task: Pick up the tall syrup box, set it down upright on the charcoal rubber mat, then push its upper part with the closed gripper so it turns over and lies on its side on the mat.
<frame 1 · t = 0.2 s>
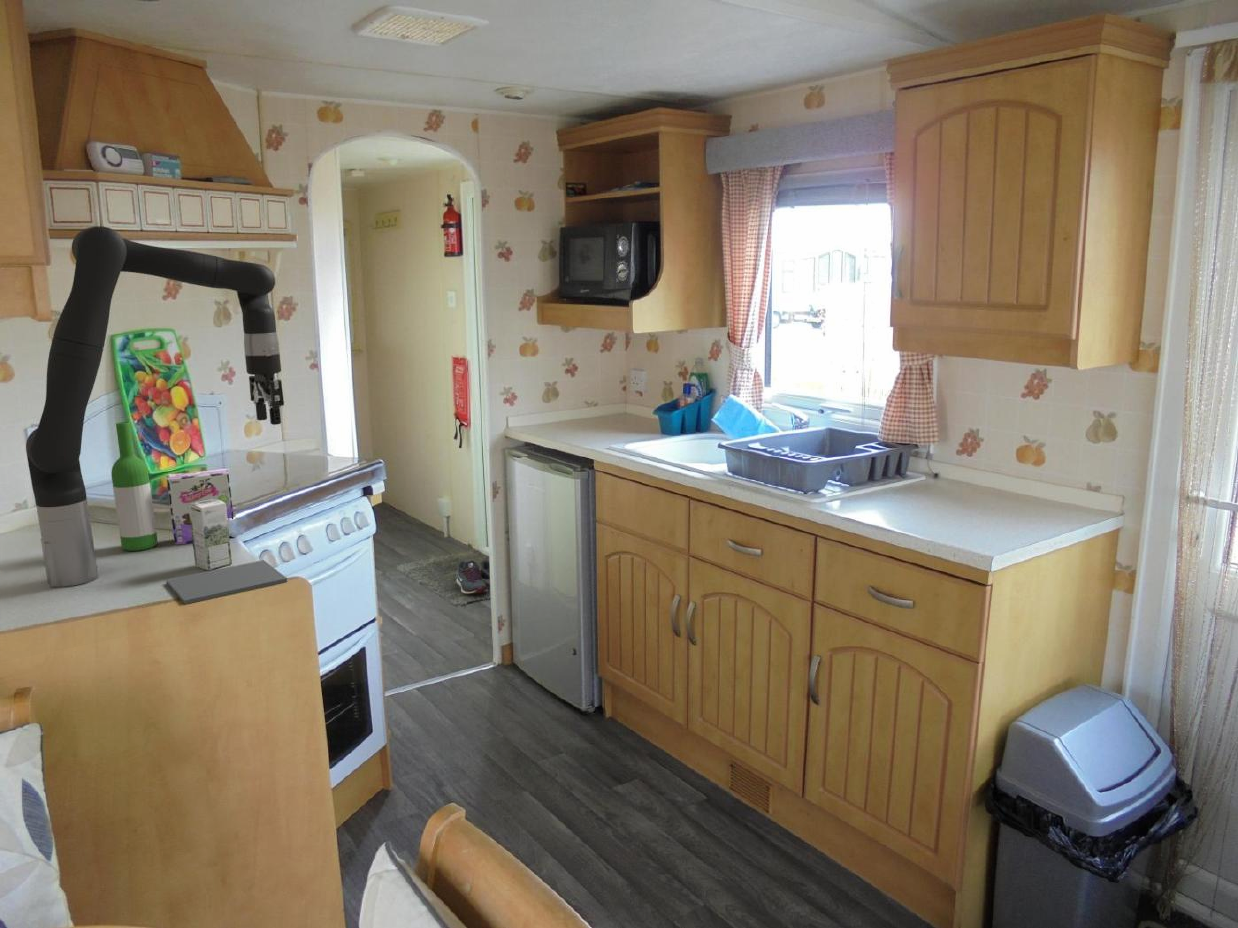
hand: (269, 422, 220), 29 cm above the worktop, fingers open, 8 cm apart
wine bottle: (140, 547, 223), on the worktop
syrup box: (214, 566, 208), on the worktop
candy box: (205, 539, 229), on the worktop
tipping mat: (226, 582, 196), on the worktop
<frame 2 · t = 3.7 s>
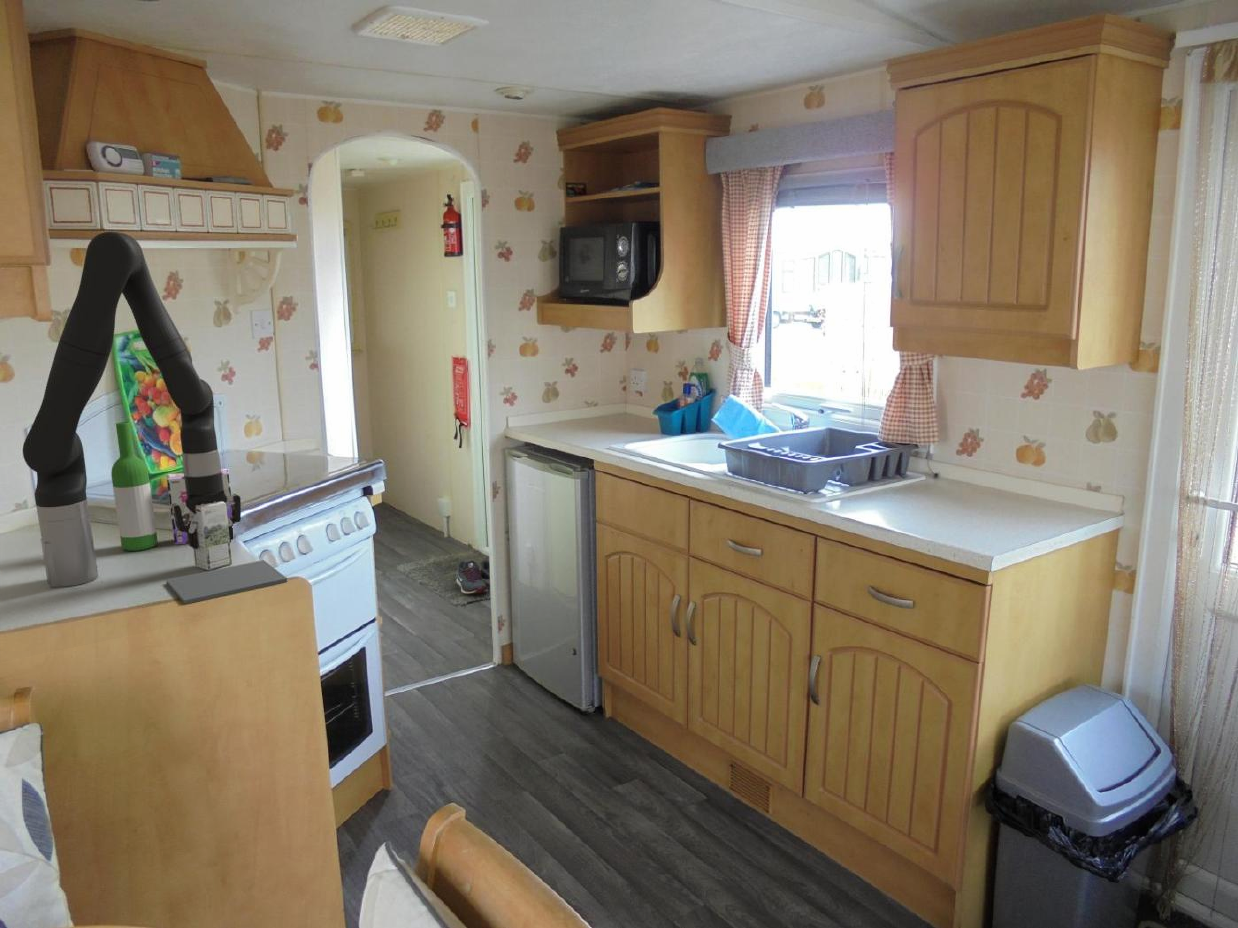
hand: (211, 544, 207), 5 cm above the worktop, fingers closed on syrup box, 6 cm apart
syrup box: (214, 566, 208), on the worktop, touching gripper
everything else where it was.
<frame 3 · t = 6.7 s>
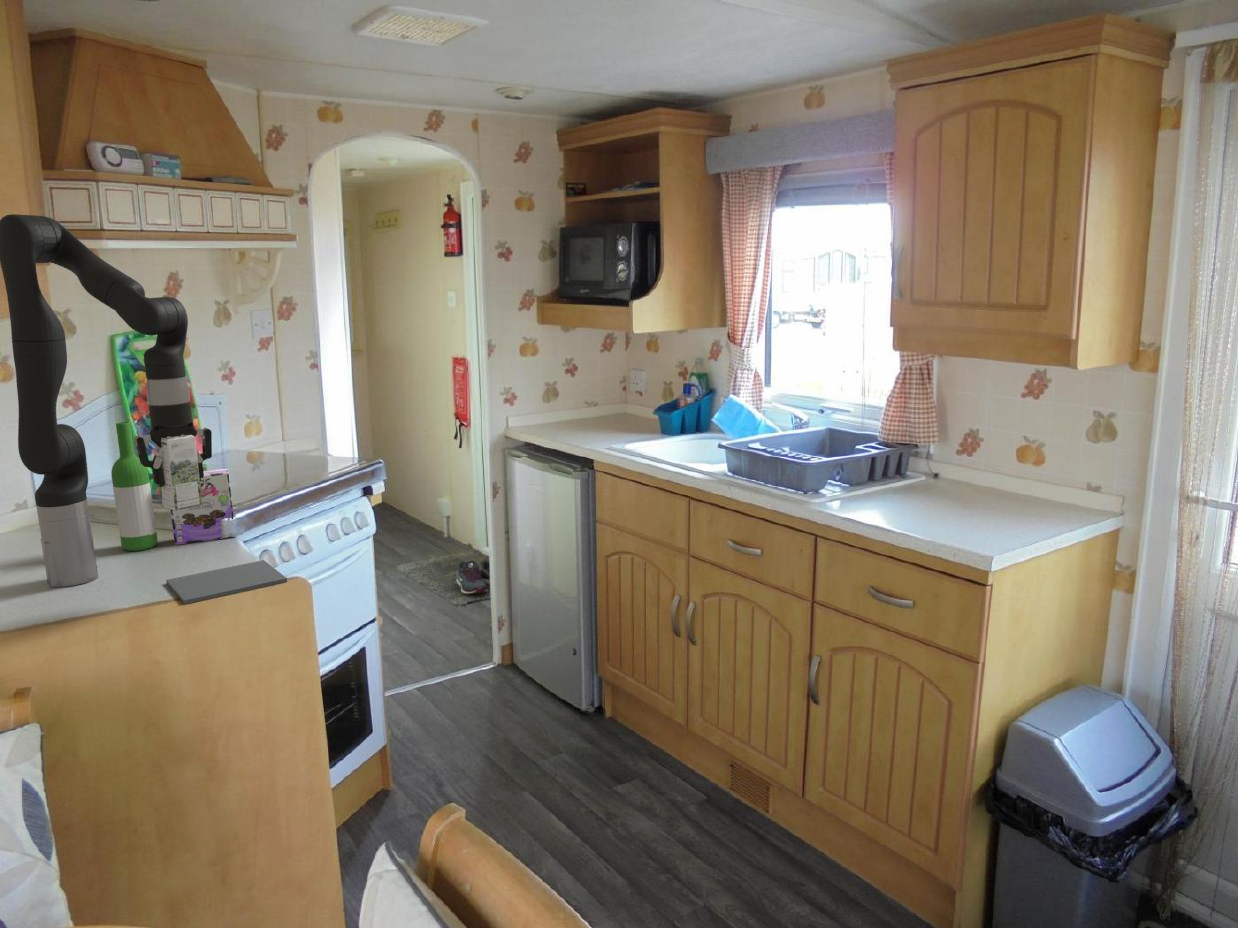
hand: (179, 483, 188), 22 cm above the worktop, fingers closed on syrup box, 6 cm apart
syrup box: (182, 507, 189), point 17 cm above the worktop, touching gripper
everything else where it was.
when the fingers open (7 cm above the worktop, at t = 10.1 s): syrup box stays where it is, resting on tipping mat.
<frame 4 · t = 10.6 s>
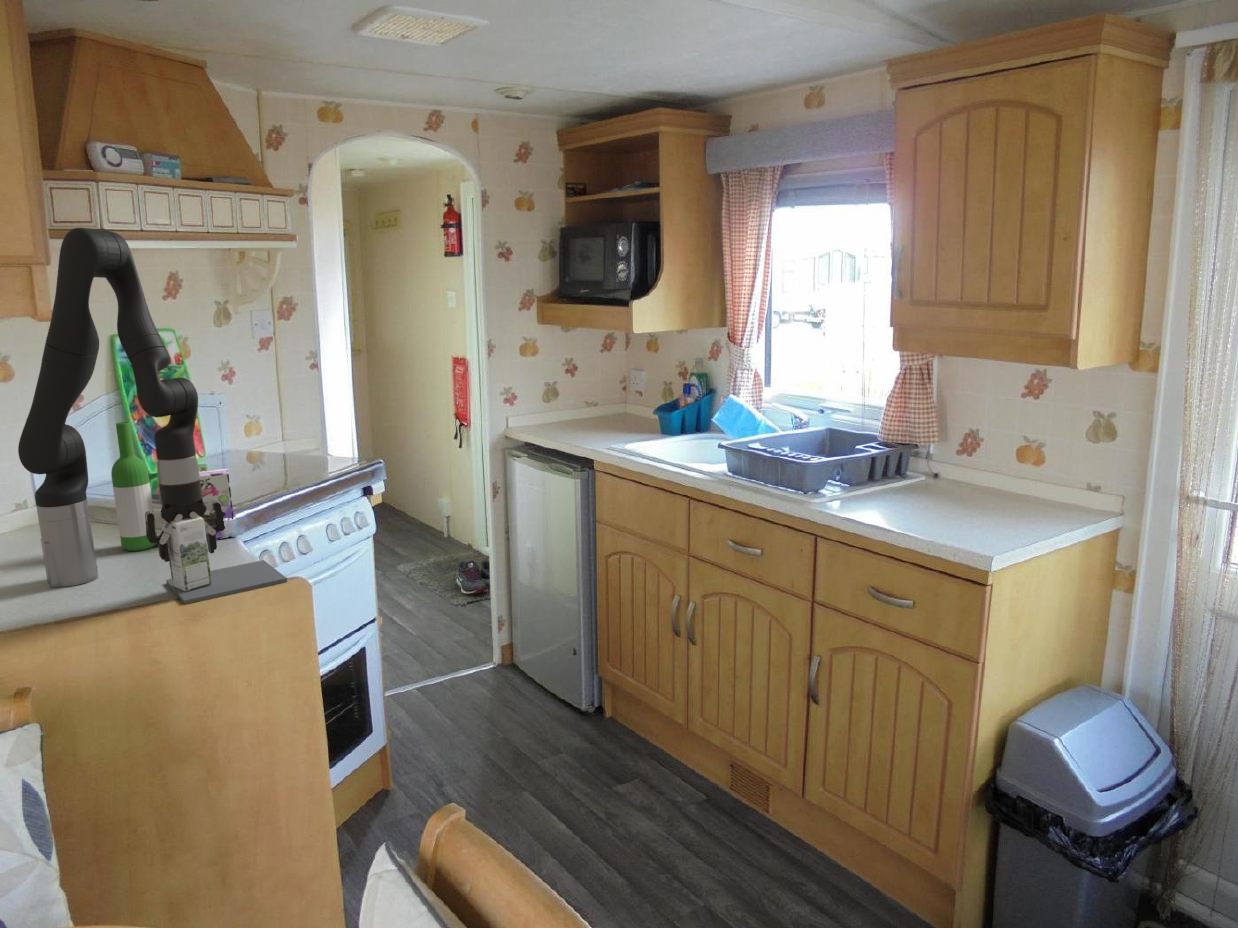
hand: (189, 556, 191), 7 cm above the worktop, fingers open, 8 cm apart
syrup box: (193, 586, 192), point 1 cm above the worktop, touching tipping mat
everything else where it was.
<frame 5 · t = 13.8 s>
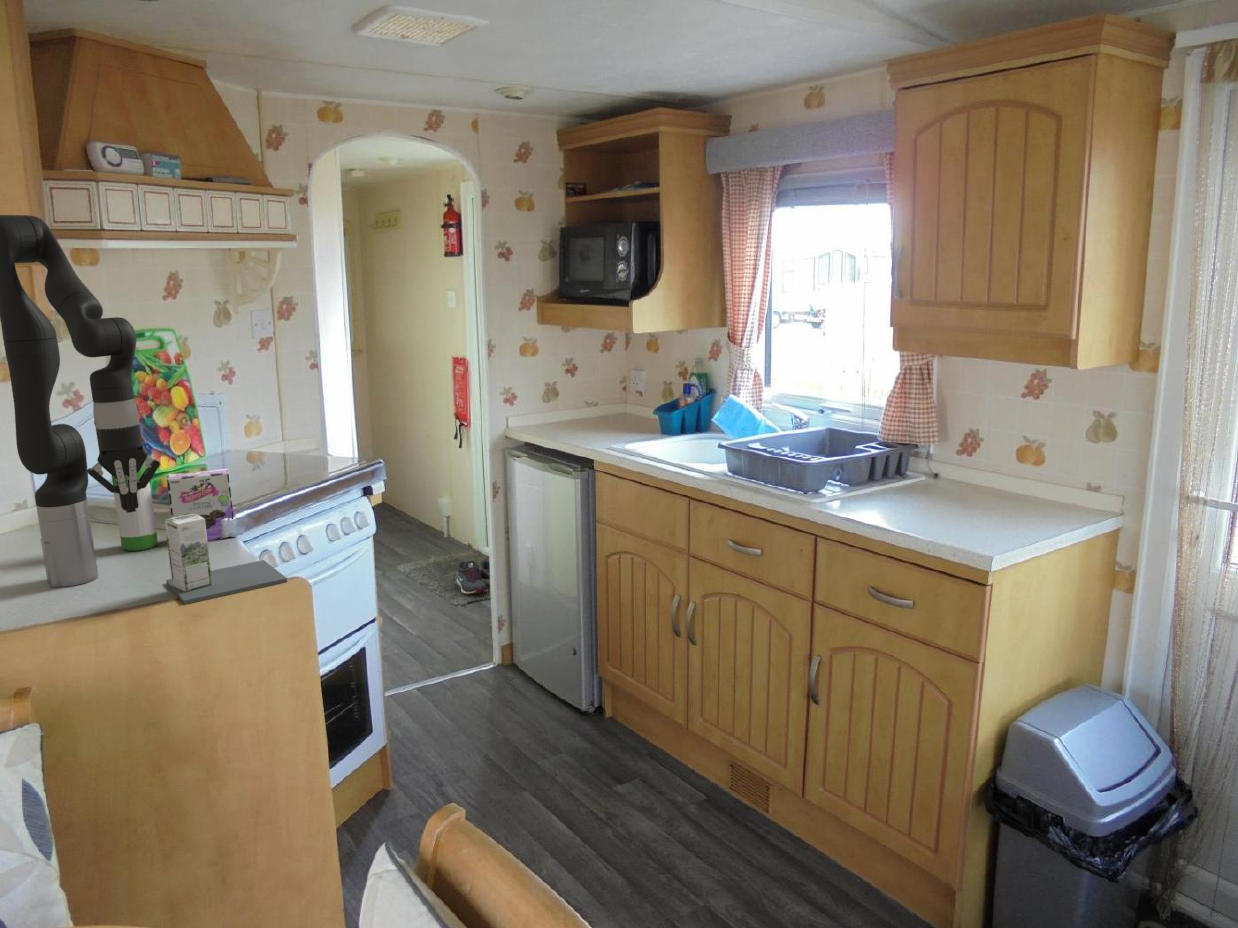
hand: (130, 511, 183), 18 cm above the worktop, fingers closed
nothing on the worktop moved.
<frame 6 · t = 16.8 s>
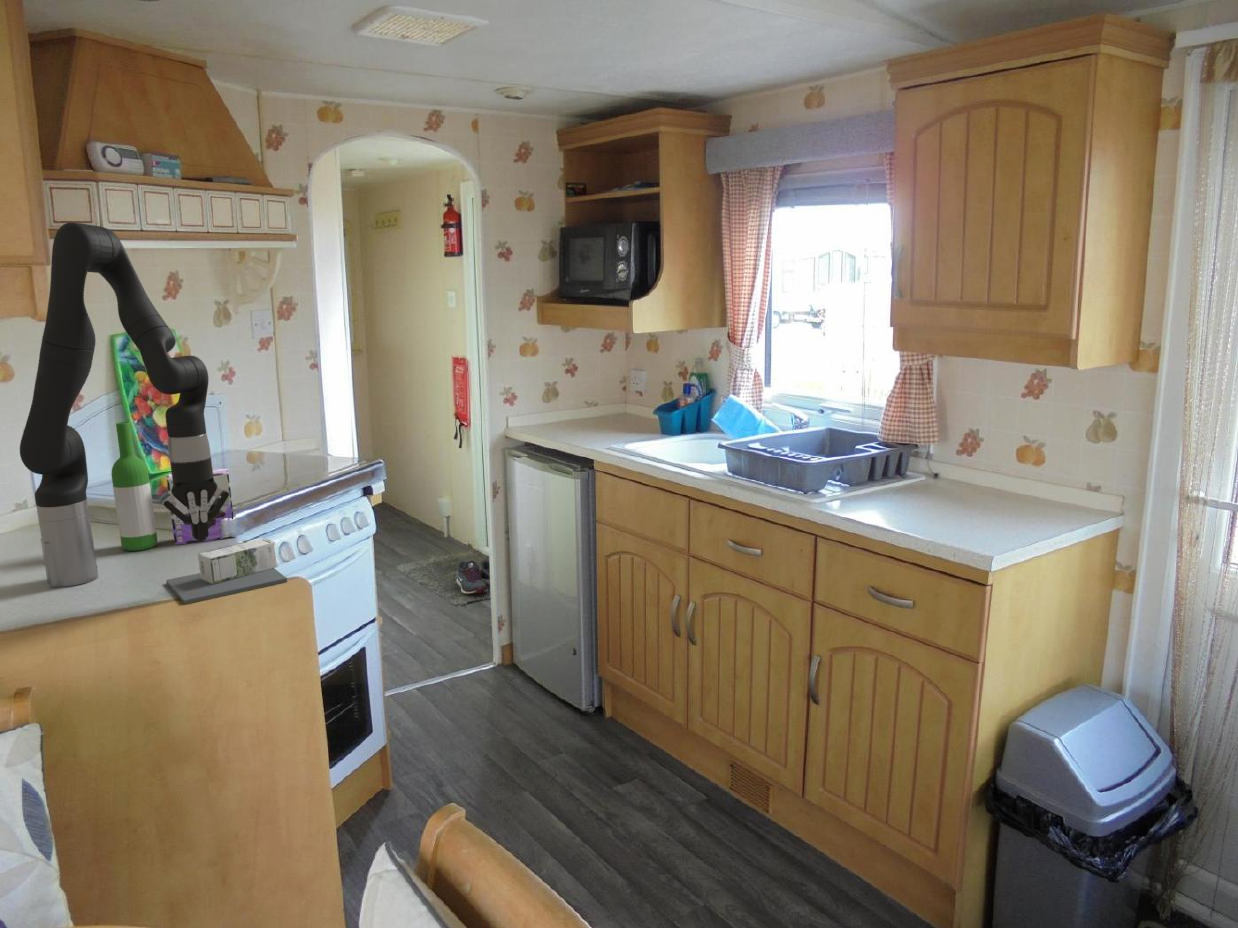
hand: (201, 539, 192), 10 cm above the worktop, fingers closed
syrup box: (204, 569, 194), point 4 cm above the worktop, touching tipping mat
everything else where it was.
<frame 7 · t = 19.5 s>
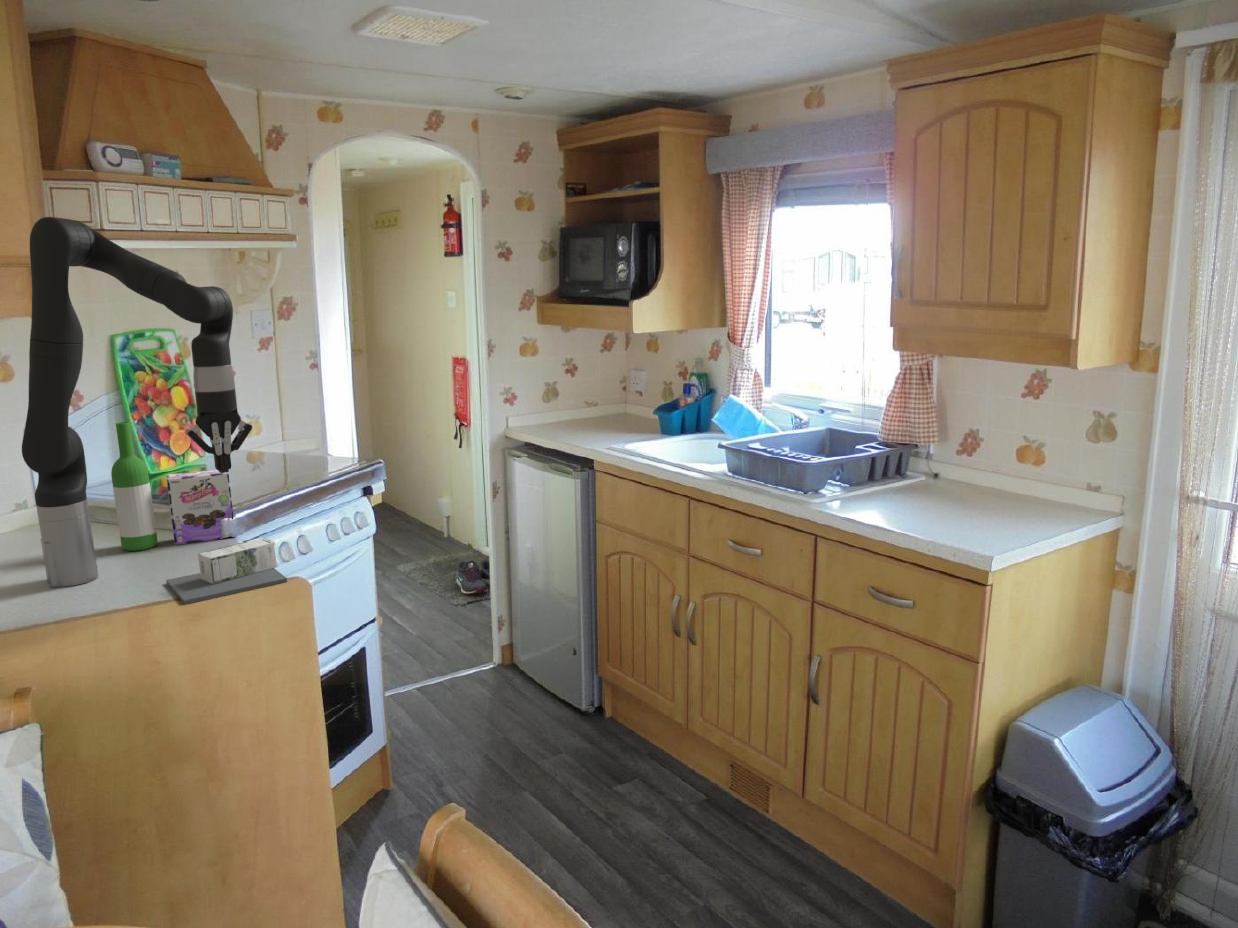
hand: (223, 471, 192), 23 cm above the worktop, fingers closed
nothing on the worktop moved.
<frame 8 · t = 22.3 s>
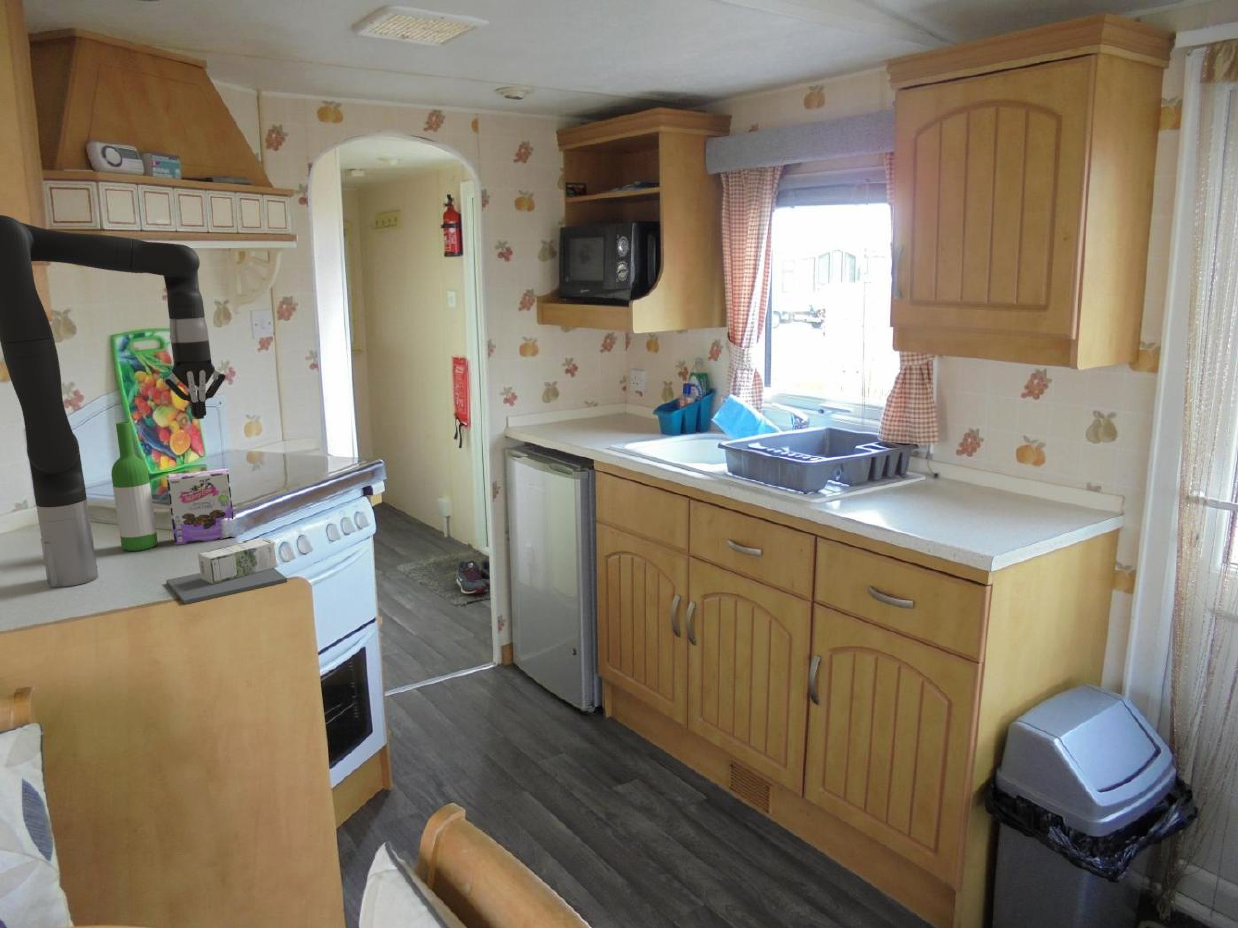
hand: (199, 418, 207), 32 cm above the worktop, fingers closed
nothing on the worktop moved.
at the end: syrup box tilted 90°; syrup box inside the target area (5.9 cm from its centre), point 3.6 cm above the worktop; the gripper is holding nothing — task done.
